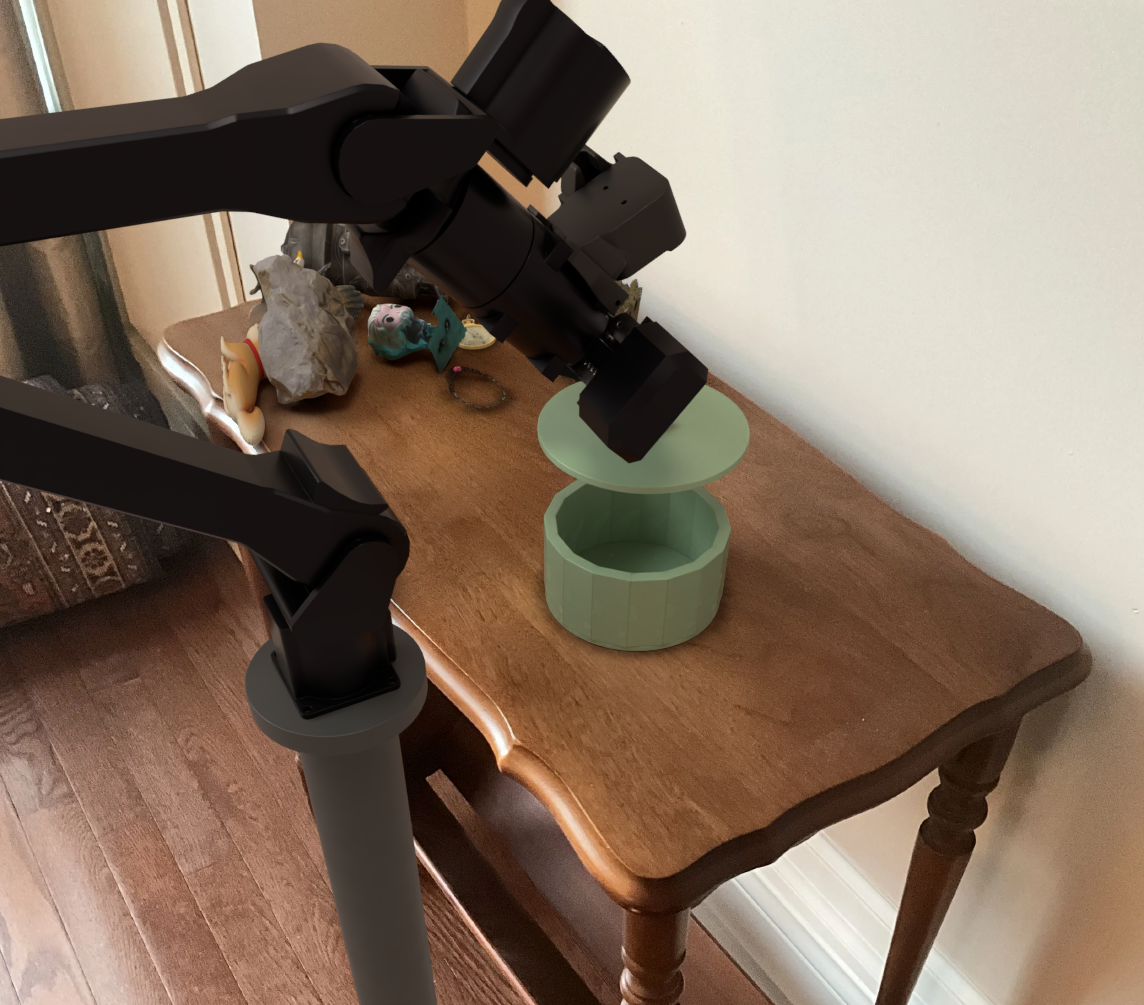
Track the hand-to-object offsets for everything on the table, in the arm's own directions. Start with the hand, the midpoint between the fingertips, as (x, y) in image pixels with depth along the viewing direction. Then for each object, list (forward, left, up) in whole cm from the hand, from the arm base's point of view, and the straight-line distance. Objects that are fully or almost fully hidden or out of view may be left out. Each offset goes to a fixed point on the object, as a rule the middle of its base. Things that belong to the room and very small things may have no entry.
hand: (664, 403), depth 71 cm
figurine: (-1, +33, -9) cm, 34 cm away
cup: (+9, +25, -14) cm, 30 cm away
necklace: (-1, +28, -14) cm, 31 cm away
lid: (-1, 0, -2) cm, 2 cm away
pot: (-2, -1, -14) cm, 14 cm away
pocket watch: (+3, +37, -14) cm, 40 cm away
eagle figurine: (-12, +48, -10) cm, 51 cm away
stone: (-10, +38, -13) cm, 41 cm away
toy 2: (+4, +43, -10) cm, 44 cm away
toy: (-20, +36, -12) cm, 43 cm away
